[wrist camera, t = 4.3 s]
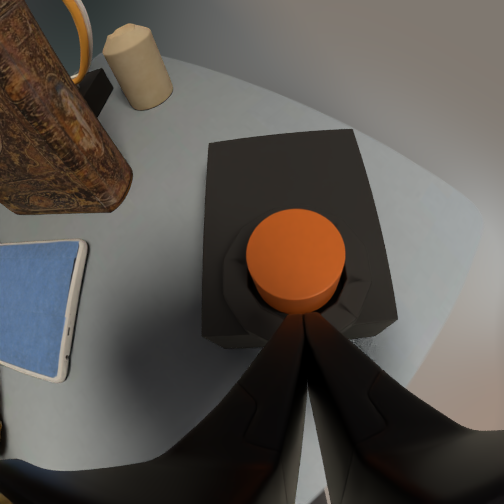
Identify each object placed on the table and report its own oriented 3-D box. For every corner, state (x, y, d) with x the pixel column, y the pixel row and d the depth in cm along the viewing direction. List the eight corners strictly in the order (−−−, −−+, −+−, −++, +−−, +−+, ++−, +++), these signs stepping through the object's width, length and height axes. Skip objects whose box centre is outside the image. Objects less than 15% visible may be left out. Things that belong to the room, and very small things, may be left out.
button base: (377, 350, 19) (412, 331, 12) (224, 362, 20) (189, 350, 14) (346, 173, 25) (354, 109, 18) (224, 185, 26) (201, 124, 19)
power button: (344, 310, 14) (352, 294, 12) (255, 318, 14) (247, 304, 12) (333, 231, 15) (337, 204, 13) (252, 239, 16) (244, 212, 14)
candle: (172, 102, 32) (141, 30, 23) (128, 116, 32) (91, 50, 23) (174, 77, 34) (149, 12, 25) (134, 90, 35) (104, 29, 26)
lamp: (24, 151, 34) (-90, -1, 6) (49, 108, 38) (-43, -35, 9) (116, 126, 32) (-6, -97, 3) (138, 81, 35) (50, -112, 7)
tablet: (92, 242, 25) (84, 235, 24) (69, 386, 20) (58, 385, 19) (-17, 248, 28) (-24, 243, 27) (-38, 347, 23) (-46, 344, 22)
